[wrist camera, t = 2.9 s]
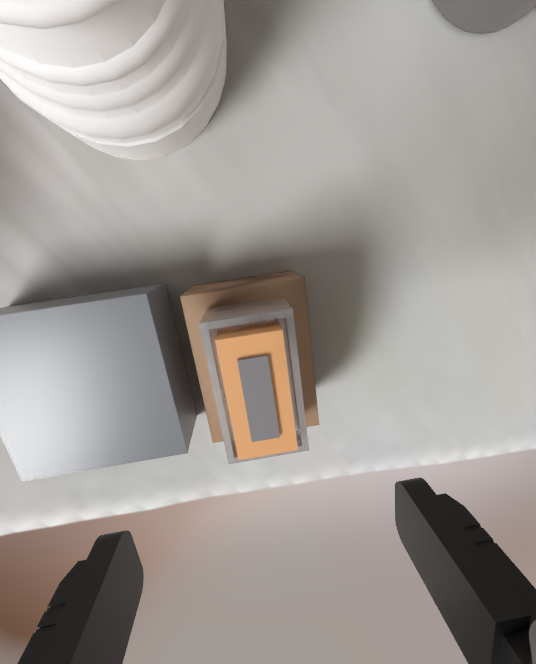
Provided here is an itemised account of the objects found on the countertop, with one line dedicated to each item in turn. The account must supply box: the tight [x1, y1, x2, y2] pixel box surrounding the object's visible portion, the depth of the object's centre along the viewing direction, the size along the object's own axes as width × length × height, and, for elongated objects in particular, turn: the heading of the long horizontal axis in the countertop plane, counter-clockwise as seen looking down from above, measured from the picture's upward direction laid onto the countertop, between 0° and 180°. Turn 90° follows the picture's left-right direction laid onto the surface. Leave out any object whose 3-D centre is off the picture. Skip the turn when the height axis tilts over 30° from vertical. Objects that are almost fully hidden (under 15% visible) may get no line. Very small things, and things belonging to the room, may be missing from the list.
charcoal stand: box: [0, 283, 197, 481], centre depth 23 cm, size 12×12×5 cm
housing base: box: [199, 297, 309, 464], centre depth 19 cm, size 5×9×4 cm, turn 8°
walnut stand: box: [180, 271, 319, 443], centre depth 23 cm, size 8×11×5 cm
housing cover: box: [215, 322, 298, 460], centre depth 17 cm, size 4×7×2 cm, turn 8°
